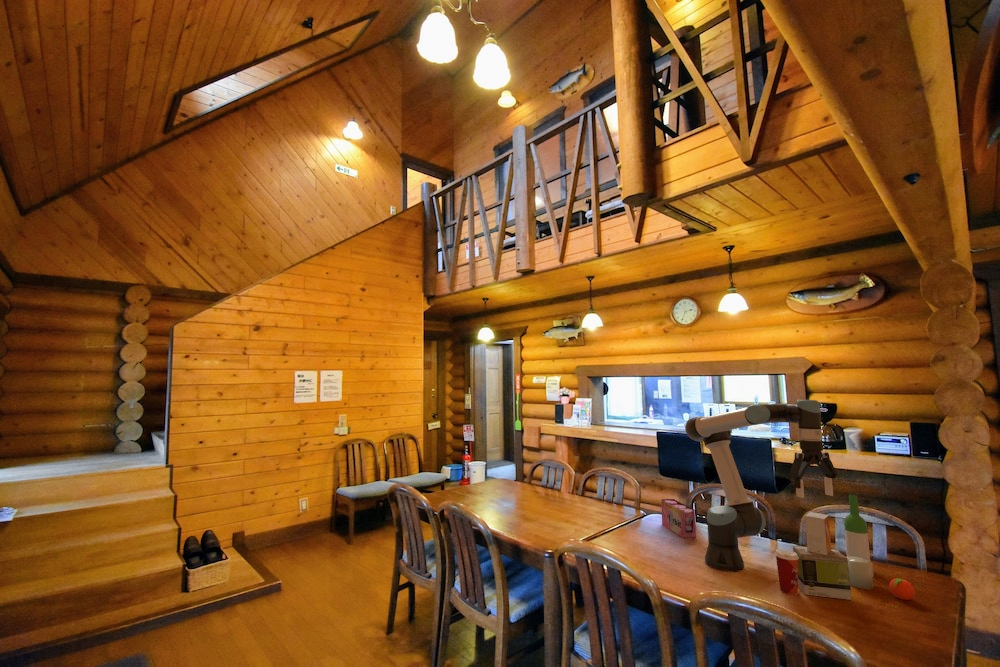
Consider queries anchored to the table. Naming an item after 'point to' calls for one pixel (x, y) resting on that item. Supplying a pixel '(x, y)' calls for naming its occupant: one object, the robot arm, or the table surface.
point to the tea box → (823, 574)
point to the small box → (818, 533)
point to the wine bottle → (856, 532)
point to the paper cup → (787, 571)
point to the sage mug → (860, 572)
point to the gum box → (678, 517)
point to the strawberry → (902, 589)
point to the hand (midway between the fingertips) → (814, 496)
